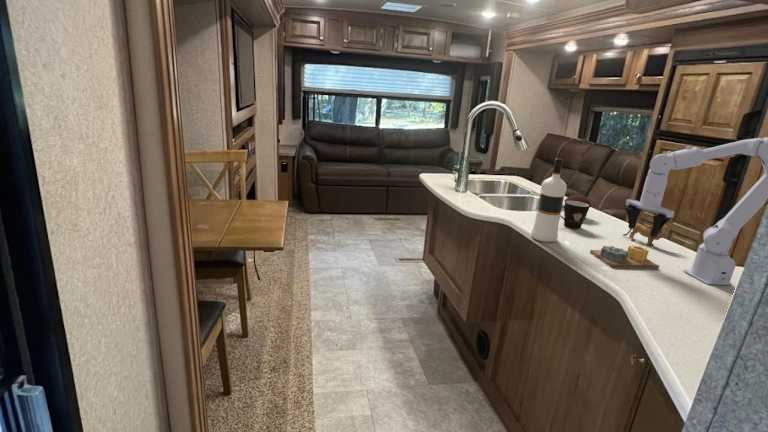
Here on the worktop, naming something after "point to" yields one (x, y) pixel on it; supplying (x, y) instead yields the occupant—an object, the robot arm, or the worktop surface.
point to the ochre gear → (637, 253)
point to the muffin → (580, 199)
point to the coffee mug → (574, 214)
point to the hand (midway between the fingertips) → (642, 232)
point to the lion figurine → (648, 233)
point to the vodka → (550, 206)
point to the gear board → (627, 262)
